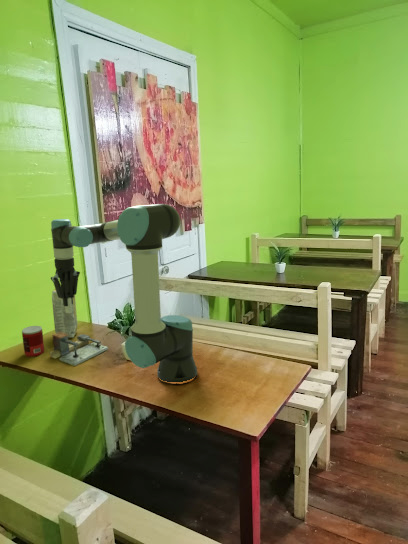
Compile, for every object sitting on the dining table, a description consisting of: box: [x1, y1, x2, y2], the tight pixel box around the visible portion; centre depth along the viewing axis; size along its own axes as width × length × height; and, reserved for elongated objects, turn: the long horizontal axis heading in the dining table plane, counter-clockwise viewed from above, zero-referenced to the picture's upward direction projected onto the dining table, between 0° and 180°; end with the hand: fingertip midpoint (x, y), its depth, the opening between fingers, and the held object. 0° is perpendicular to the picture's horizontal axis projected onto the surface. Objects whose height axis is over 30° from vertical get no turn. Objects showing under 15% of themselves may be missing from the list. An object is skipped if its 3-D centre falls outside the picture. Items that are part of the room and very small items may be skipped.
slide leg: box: [52, 332, 79, 357], centre depth 167 cm, size 13×4×8 cm, turn 57°
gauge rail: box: [49, 333, 102, 359], centre depth 171 cm, size 13×18×4 cm
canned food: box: [21, 325, 45, 358], centre depth 169 cm, size 8×8×11 cm
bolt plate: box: [59, 342, 109, 367], centre depth 169 cm, size 9×18×1 cm, turn 147°
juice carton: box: [51, 288, 78, 339], centre depth 186 cm, size 9×8×24 cm
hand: (68, 312), depth 168 cm, fingers closed
